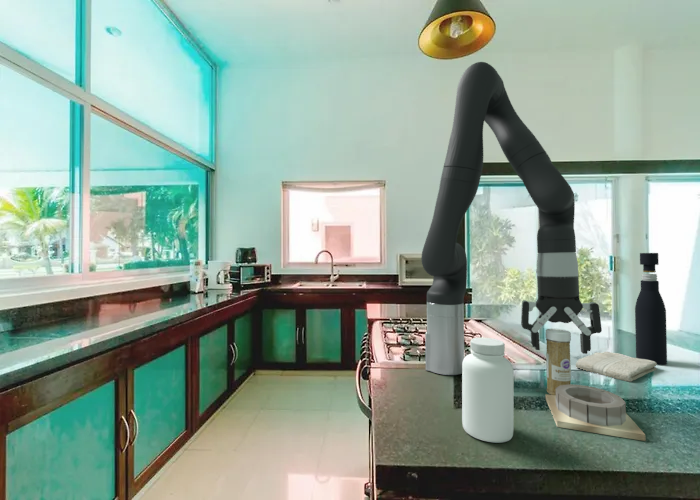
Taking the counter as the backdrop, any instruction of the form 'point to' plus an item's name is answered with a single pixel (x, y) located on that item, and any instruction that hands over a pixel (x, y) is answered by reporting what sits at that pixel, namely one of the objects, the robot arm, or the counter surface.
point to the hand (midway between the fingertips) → (560, 351)
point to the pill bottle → (488, 391)
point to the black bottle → (650, 315)
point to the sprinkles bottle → (558, 359)
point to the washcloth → (616, 365)
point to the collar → (592, 411)
